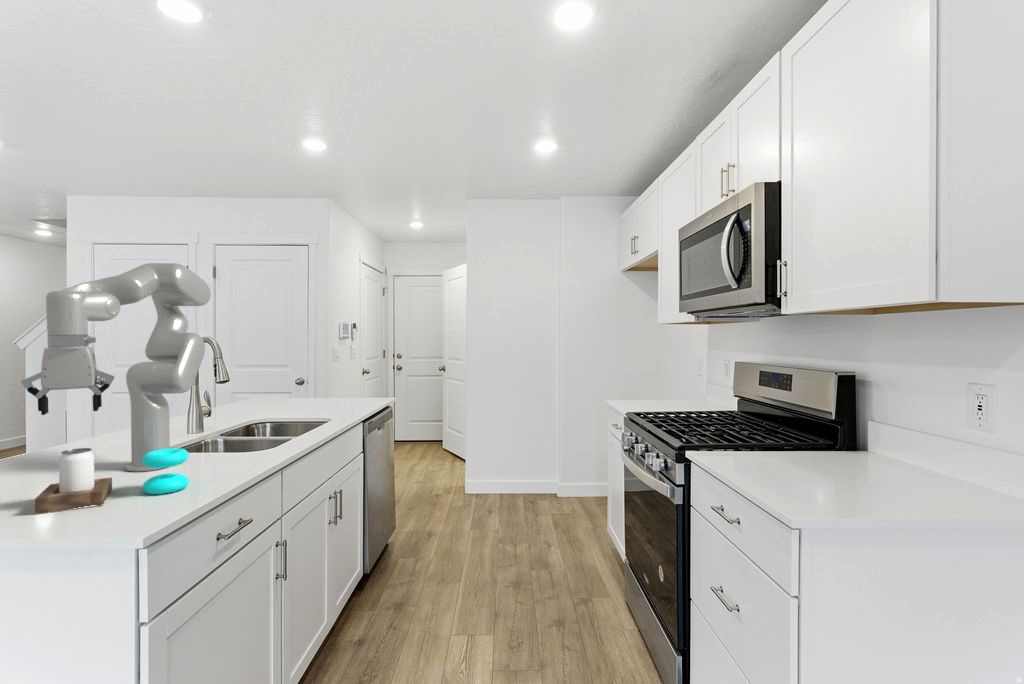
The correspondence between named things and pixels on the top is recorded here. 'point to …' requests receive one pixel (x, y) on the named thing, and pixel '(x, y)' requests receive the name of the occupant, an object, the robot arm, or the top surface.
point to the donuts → (165, 481)
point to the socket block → (72, 497)
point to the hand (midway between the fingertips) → (71, 412)
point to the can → (76, 470)
